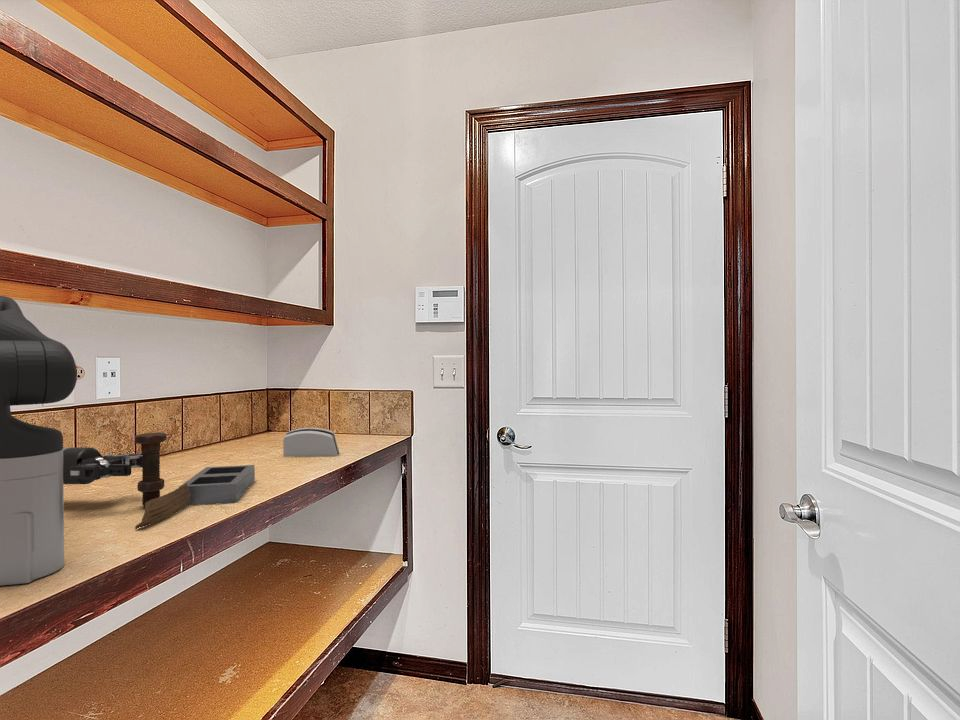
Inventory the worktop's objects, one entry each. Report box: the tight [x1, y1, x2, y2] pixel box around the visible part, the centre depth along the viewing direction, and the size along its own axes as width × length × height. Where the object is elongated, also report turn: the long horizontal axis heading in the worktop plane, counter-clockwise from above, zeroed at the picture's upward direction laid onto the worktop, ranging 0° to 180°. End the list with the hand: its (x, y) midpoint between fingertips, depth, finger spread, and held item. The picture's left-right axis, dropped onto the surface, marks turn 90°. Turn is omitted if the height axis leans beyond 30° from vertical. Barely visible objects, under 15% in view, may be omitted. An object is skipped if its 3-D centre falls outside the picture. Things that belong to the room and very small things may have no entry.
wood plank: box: [134, 482, 191, 530], centre depth 101 cm, size 15×2×5 cm, turn 1°
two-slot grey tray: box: [178, 464, 256, 506], centre depth 120 cm, size 20×11×4 cm, turn 13°
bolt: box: [134, 432, 167, 508], centre depth 108 cm, size 6×5×15 cm
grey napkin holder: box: [282, 427, 340, 457], centre depth 164 cm, size 17×5×10 cm, turn 92°
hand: (144, 465), depth 108 cm, fingers open, 8 cm apart
